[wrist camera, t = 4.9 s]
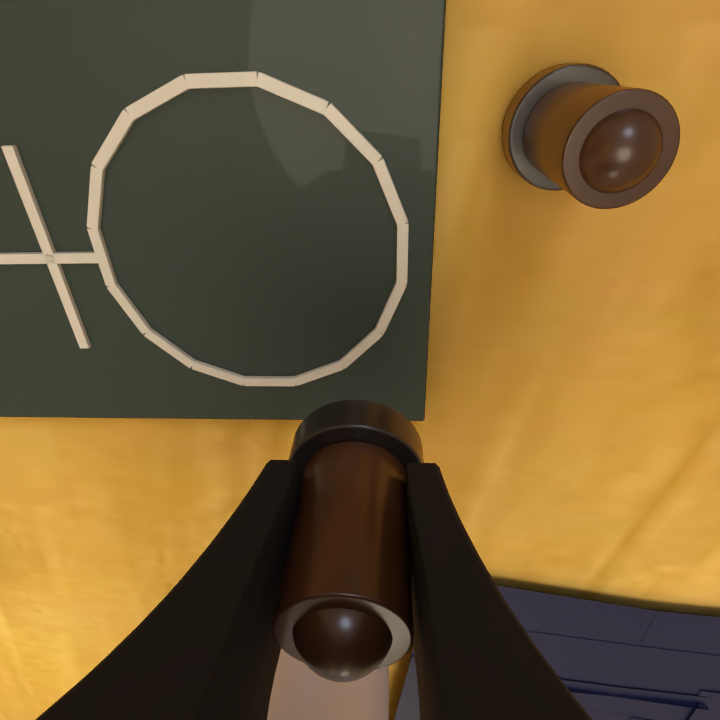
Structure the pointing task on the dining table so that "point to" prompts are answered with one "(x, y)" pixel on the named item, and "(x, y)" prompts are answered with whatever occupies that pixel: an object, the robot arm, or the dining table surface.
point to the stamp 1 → (349, 542)
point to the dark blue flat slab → (616, 657)
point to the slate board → (216, 205)
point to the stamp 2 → (590, 135)
